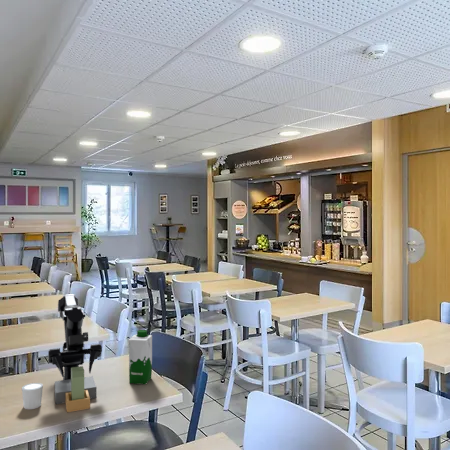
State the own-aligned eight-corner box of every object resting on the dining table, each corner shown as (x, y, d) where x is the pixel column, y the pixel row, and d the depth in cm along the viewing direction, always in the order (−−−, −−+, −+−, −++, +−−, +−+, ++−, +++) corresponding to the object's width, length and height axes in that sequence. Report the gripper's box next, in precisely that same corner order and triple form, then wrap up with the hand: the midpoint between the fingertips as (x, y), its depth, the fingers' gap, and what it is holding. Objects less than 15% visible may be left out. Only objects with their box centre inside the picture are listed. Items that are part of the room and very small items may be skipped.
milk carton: (154, 377, 179) (154, 329, 179) (147, 385, 170) (147, 335, 170) (133, 376, 180) (134, 329, 180) (126, 384, 171) (126, 334, 171)
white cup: (46, 401, 155) (46, 382, 155) (38, 409, 148) (38, 389, 148) (26, 401, 154) (26, 382, 154) (18, 410, 147) (18, 390, 147)
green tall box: (71, 403, 153) (71, 367, 153) (82, 401, 154) (82, 366, 154) (72, 409, 148) (72, 372, 148) (84, 407, 150) (84, 370, 150)
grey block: (54, 391, 163) (54, 381, 163) (92, 386, 169) (92, 376, 169) (56, 414, 145) (56, 402, 145) (99, 406, 150) (99, 395, 150)
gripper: (48, 327, 155) (49, 367, 145) (101, 322, 163) (105, 360, 153) (47, 343, 162) (48, 382, 153) (98, 337, 170) (102, 374, 160)
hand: (76, 374), depth 154 cm, fingers open, 9 cm apart
